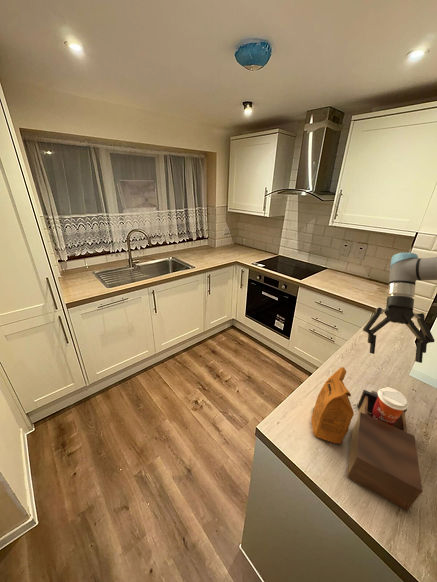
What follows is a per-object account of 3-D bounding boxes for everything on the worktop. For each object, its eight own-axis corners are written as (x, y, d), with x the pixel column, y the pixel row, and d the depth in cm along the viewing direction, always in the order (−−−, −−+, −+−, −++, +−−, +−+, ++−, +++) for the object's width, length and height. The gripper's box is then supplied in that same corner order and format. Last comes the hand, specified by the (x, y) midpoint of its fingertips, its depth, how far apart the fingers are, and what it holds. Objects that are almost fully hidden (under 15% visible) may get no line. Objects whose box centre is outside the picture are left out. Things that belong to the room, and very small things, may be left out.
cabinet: (351, 431, 77) (360, 411, 73) (402, 455, 70) (414, 435, 66) (346, 477, 65) (356, 456, 61) (406, 511, 58) (422, 491, 54)
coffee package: (341, 416, 82) (360, 368, 72) (343, 449, 71) (365, 399, 62) (311, 405, 85) (325, 358, 76) (309, 436, 75) (325, 386, 65)
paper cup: (367, 432, 75) (382, 401, 69) (363, 412, 81) (376, 382, 75) (396, 441, 72) (413, 411, 66) (389, 420, 79) (405, 390, 73)
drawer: (358, 395, 89) (364, 380, 86) (397, 411, 83) (405, 395, 80) (354, 438, 74) (361, 421, 71) (401, 461, 68) (411, 444, 65)
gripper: (437, 303, 82) (432, 364, 80) (357, 293, 90) (351, 349, 88) (451, 301, 75) (446, 368, 73) (363, 290, 83) (356, 350, 81)
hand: (394, 357), depth 80 cm, fingers open, 13 cm apart
